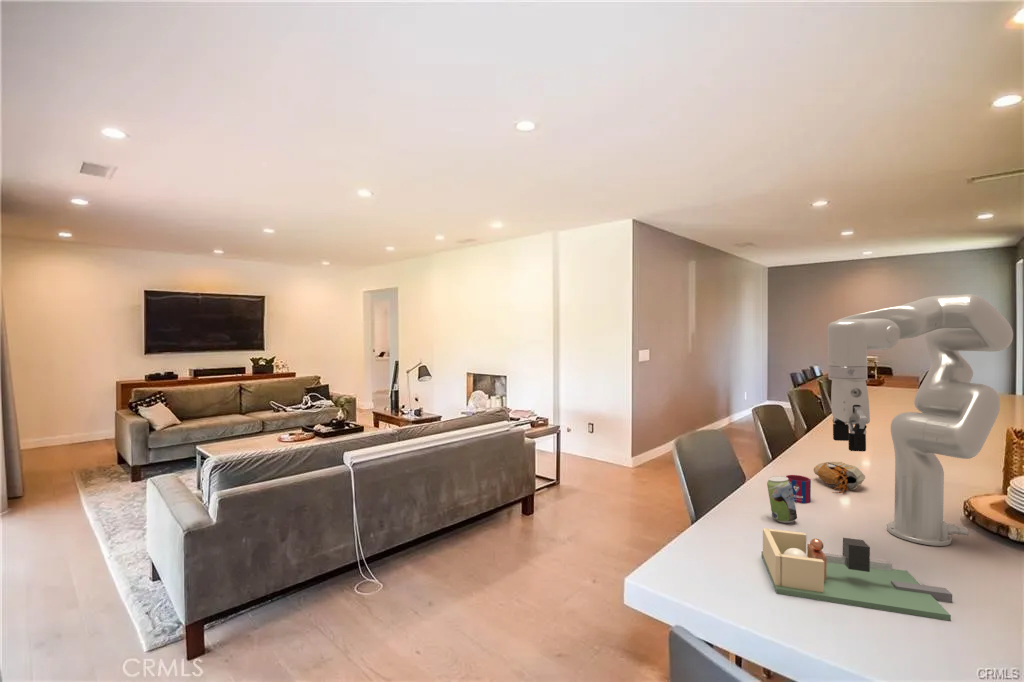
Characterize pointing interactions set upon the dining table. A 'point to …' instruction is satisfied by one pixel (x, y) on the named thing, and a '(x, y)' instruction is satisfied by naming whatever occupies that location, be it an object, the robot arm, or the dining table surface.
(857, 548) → the copper sphere contraption
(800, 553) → the ball
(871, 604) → the pitch
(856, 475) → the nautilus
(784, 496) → the beverage can
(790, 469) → the dining table surface
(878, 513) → the dining table surface
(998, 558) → the dining table surface
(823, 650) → the dining table surface
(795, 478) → the mug
